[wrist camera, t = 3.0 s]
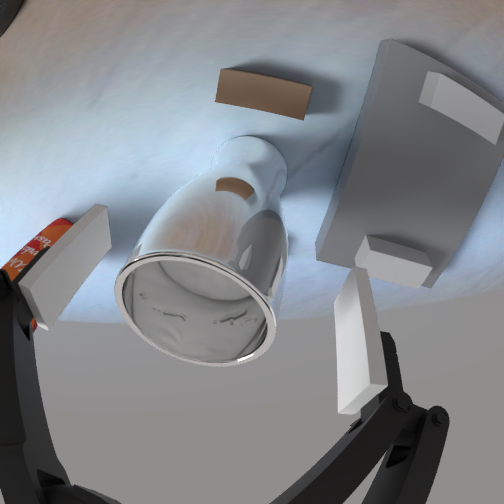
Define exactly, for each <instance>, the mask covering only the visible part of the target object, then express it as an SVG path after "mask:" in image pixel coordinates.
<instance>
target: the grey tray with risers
mask: <svg viewBox="0 0 504 504" xmlns="http://www.w3.org/2000/svg"><path fill="white" fill-rule="evenodd" d="M503 157H504V104H503V103H502V102H501V101H499V100H498V99H497V98H495V97H494V96H493V95H491V94H490V93H488V92H487V91H486V90H484V89H483V88H481V87H480V86H478V85H477V84H475V83H474V82H472V81H471V80H469V79H468V78H466V77H464V76H463V75H461V74H460V73H458V72H456V71H455V70H453V69H451V68H449V67H448V66H446V65H444V64H442V63H441V62H439V61H437V60H435V59H433V58H431V57H429V56H427V55H425V54H424V53H422V52H419V51H417V50H415V49H413V48H411V47H409V46H407V45H405V44H402V43H400V42H398V41H396V40H393V39H387V40H382V41H381V42H380V46H379V49H378V53H377V57H376V61H375V64H374V68H373V72H372V75H371V79H370V82H369V86H368V89H367V93H366V96H365V99H364V103H363V106H362V109H361V113H360V116H359V119H358V122H357V125H356V129H355V132H354V135H353V138H352V141H351V144H350V147H349V150H348V153H347V156H346V159H345V162H344V165H343V168H342V171H341V174H340V177H339V180H338V182H337V185H336V188H335V191H334V194H333V197H332V199H331V202H330V205H329V208H328V210H327V213H326V216H325V218H324V221H323V224H322V227H321V229H320V232H319V234H318V237H317V240H316V242H315V245H316V260H318V261H322V262H326V263H330V264H334V265H338V266H343V267H347V268H351V269H352V267H353V266H357V267H361V268H365V269H367V272H368V277H371V278H375V279H380V280H384V281H388V282H392V283H396V284H400V285H404V286H409V287H413V288H417V289H419V288H420V286H424V287H428V288H432V287H433V285H434V284H435V282H436V281H437V279H438V278H439V276H440V275H441V273H442V272H443V270H444V269H445V267H446V266H447V264H448V263H449V261H450V259H451V258H452V256H453V255H454V253H455V251H456V250H457V248H458V247H459V245H460V243H461V241H462V240H463V238H464V236H465V235H466V233H467V231H468V229H469V228H470V226H471V224H472V222H473V220H474V218H475V217H476V215H477V213H478V211H479V209H480V207H481V205H482V203H483V201H484V199H485V197H486V195H487V193H488V191H489V189H490V187H491V185H492V182H493V180H494V178H495V176H496V173H497V171H498V169H499V166H500V164H501V162H502V159H503Z"/></svg>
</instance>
